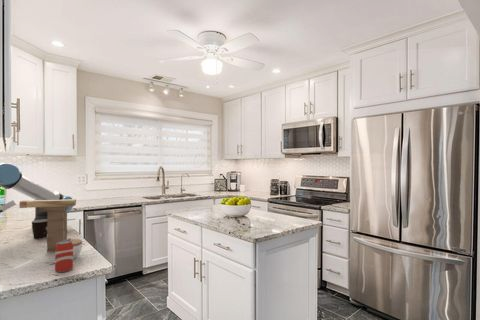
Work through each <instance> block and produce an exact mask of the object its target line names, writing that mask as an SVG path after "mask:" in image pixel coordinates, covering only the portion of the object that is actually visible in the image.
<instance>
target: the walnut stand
mask: <svg viewBox="0 0 480 320" xmlns="http://www.w3.org/2000/svg"><path fill="white" fill-rule="evenodd" d="M68 208H69V206H59V207H40V208H39V212H48V217H47V237H46V242H47V243H46V252H48V253H49V252H50V253H51V252H55V247H56V243H57V242H59V241H63V240H68V213H67V209H68Z"/></svg>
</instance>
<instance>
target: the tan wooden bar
mask: <svg viewBox="0 0 480 320" xmlns="http://www.w3.org/2000/svg"><path fill="white" fill-rule="evenodd" d="M18 204H19V209H25V208H26V209H27V208H31V209H32V208H35V207H59V206H73V207H75V206H77V198H72V199H67V200H35V199H33V200H21V201H19V203H18Z"/></svg>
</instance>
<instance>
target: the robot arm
mask: <svg viewBox="0 0 480 320" xmlns="http://www.w3.org/2000/svg"><path fill="white" fill-rule="evenodd" d="M0 187H1V188H4V189H6V190H10V189H12V190H15V191H17V192H18V193H20V194H23V195H25V196H27V197H29V198H31V199H33V200H67V199H73V197H72V196H70V195H63V194H62V193H60V192H57V191H51V190H49V189H47V188H46V187H44V186H42V185H40V184H39V183H36V182H34V181H33V180H31V179H29V178H27V177H25V176H24V175H23V172H22V171H20V169H19V168H18V166H16V165H15V164H12V163H9V162H0ZM16 205H17V203H16V202H15V201H14V199H13V200H10V201H8V202H6V203H5V204H3V205H1V203H0V214H1V213H4V212H5V211H7V210H9V209H10V208H12V207H14V206H16ZM39 208H40V207H34V209H35V213H34V214H35V216H34V219H33V221H35V220H42V219H47V217H48V212H39ZM73 208H74V206H69V208H68V209H67V214H68V213H70V212H71V211H72V209H73ZM31 229H32V230H33V228H32V227H31Z"/></svg>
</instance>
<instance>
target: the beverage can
mask: <svg viewBox="0 0 480 320" xmlns="http://www.w3.org/2000/svg"><path fill="white" fill-rule="evenodd" d="M54 255H55V256H54V271H56V272H57V273H66V272H70V271H71V270H72V269H73V268H74V259H73V244H72V241H71V240H68V239H67V240H64V241H59V242H57V245H56V247H55V251H54Z"/></svg>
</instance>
